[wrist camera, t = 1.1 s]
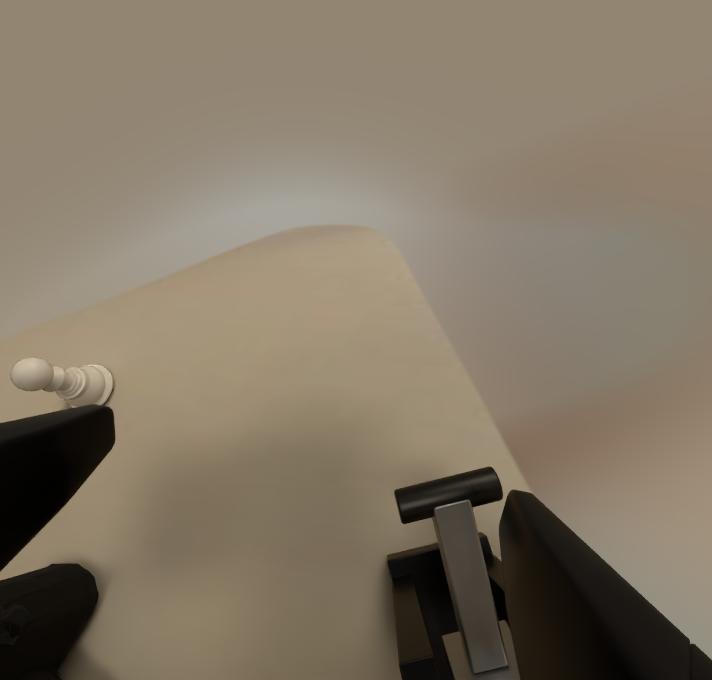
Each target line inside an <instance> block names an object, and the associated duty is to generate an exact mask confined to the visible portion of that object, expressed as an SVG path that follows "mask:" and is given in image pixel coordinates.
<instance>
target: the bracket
mask: <svg viewBox="0 0 712 680" xmlns="http://www.w3.org/2000/svg"><path fill="white" fill-rule="evenodd" d="M478 535H479V539H480V543H481V548H482V552H483V556H484V561H485V565H486V569H487V574H488V578H489V582H490V586H491V591H492V595H493V599H494V604H495V608H496V612H497V617H498V621H503V620H505V621H506V622H507V624H508V626H509V621H508V616H507V610H506V602H505V592H504V581H503V570H502V561H500V560H499V559H498V558H497V557H495V556H494V555H493V554H492V551H491V548H490V545H489V541H488V538H487V536H486V535H484V534H483V533H481V532H479V533H478ZM387 562H388V566H389V571H390V575H391V579H392V590H393V602H394V613H395V625H396V636H397V647H398V659H399V667H400V672H401V676H402V680H451V676H450V672H449V668H448V664H447V660H446V655H445V651H444V647H443V643H442V639H441V637H442V636H443V635H447V634H451V633H455V632H459V629H458V624H457V620H456V616H455V612H454V607H453V603H452V599H451V595H450V591H449V586H448V582H447V578H446V574H445V570H444V565H443V561H442V557H441V553H440V549H439V544H438V543H434V544H430V545H426V546H422V547H418V548H414V549H410V550H406V551H402V552H398V553H394V554H390V555H387ZM509 628H510V626H509Z"/></svg>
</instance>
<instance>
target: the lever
mask: <svg viewBox="0 0 712 680" xmlns="http://www.w3.org/2000/svg"><path fill="white" fill-rule="evenodd" d="M394 494H395V499H396V503H397V507H398V511H399V515H400V519H401V522H402V523H403V524H407V523H411V522H415V521H419V520H423V519H427V518H431V517H432V519H433V523H434V527H435V532H436V536H437V540H438V544H439V549H440V553H441V557H442V561H443V565H444V570H445V574H446V578H447V582H448V586H449V591H450V595H451V599H452V603H453V607H454V612H455V616H456V620H457V624H458V629H459V632H455V633H451V634H447V635H443V636H442V637H441V639H442V643H443V647H444V651H445V655H446V660H447V664H448V668H449V672H450V676H451V680H520V676H519V671H518V666H517V661H516V656H515V651H514V646H513V641H512V636H511V631H510V628H509V626H508V624H507V622H506V621H505V620H503V621H498V617H497V612H496V608H495V604H494V599H493V595H492V591H491V586H490V582H489V578H488V574H487V569H486V565H485V561H484V556H483V552H482V548H481V543H480V539H479V535H478V531H477V526H476V522H475V518H474V513H473V509H472V507H476V506H480V505H484V504H488V503H492V502H496V501H500V500H501V499H502V498H503V491H502V487H501V483H500V480H499V478H498V476H497V474H496V472H495V471H494V469H493V468H492V467H485V468H481V469H477V470H473V471H469V472H465V473H461V474H457V475H453V476H449V477H445V478H441V479H437V480H433V481H429V482H425V483H420V484H416V485H412V486H408V487H404V488H400V489H396V490H395V491H394Z"/></svg>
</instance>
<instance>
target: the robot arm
mask: <svg viewBox="0 0 712 680" xmlns="http://www.w3.org/2000/svg"><path fill="white" fill-rule="evenodd" d="M114 443H115V425H114V413H113V411H112V409H111V408H110V407H107V406H102V405H97V404H90V405H85V406H80V407H76V408H71V409H66V410H61V411H57V412H52V413H47V414H42V415H38V416H33V417H28V418H23V419H19V420H14V421H9V422H4V423H0V571H1V570H2V569H3V568H4V567H5V566H6V565H7V564H8V563H9V562H10V561H11V560H12V559H13V558H14V557H15V556H16V555H17V554H18V553H19V552H20V551H21V550H22V549H23V548H24V547H25V546H26V545H27V544H28V543H29V542H30V541H31V540H32V539H33V538H34V537H35V536H36V535H37V534H38V532H39V531H40V530H41V529H42V528H43V527H44V526H45V525H46V524H47V523H48V522H49V521H50V520H51V519H52V518H53V517H54V516H55V515H56V514H57V513H58V512H59V511H60V510H61V509H62V508H63V507H64V506H65V505H66V503H67V502H68V501H69V500H70V499H71V498H72V496H73V495H74V494H75V493H76V492H77V490H78V489H79V488H80V487H81V486H82V484H83V483H84V482H85V481H86V480H87V478H88V477H89V476H90V475H91V473H92V472H93V471H94V470H95V469H96V467H97V466H98V465H99V464H100V463H101V461H102V460H103V459H104V458H105V456H106V455H107V454H108V453H109V452H110V450H111V449H112V447H113V445H114ZM499 537H500V548H501V559H502V570H503V581H504V592H505V602H506V610H507V616H508V621H509V626H510V631H511V636H512V641H513V646H514V651H515V656H516V661H517V666H518V671H519V676H520V680H712V660H711V659H710V658H709V657H708V656H707V655H706V654H705V653H704V652H702V651H701V650H700V649H699V648H698V647H697V646H696V645H695V644H690V640H689V639H688V638H687V637H686V636H685V635H684V634H683V633H682V632H681V631H680V630H679V629H678V628H676V627H675V626H674V625H673V624H672V623H671V622H670V621H669V620H668V619H667V618H666V617H664V616H663V615H662V614H661V613H660V612H659V611H658V610H657V609H656V608H655V607H654V606H653V605H652V604H650V603H649V602H648V601H647V600H646V599H645V598H644V597H643V596H642V595H641V594H640V593H638V592H637V590H635V589H634V588H633V587H632V586H631V585H630V584H629V583H628V582H627V581H626V580H625V579H624V578H622V577H621V576H620V575H619V574H618V573H617V572H616V571H615V570H614V569H613V568H612V567H611V566H610V565H608V564H607V563H606V562H605V561H604V560H603V559H602V558H601V557H600V556H599V555H598V554H597V553H595V552H594V551H593V550H592V549H591V548H590V547H589V546H588V545H587V544H586V543H585V542H584V541H583V540H581V539H580V538H579V537H578V536H577V535H576V534H575V533H574V532H573V531H572V530H571V529H570V528H569V527H567V526H566V525H565V524H564V523H563V522H562V521H561V520H560V519H559V518H558V517H557V516H556V515H555V514H553V513H552V512H551V511H550V510H549V509H548V508H547V507H546V506H545V505H544V504H543V503H542V502H541V501H539V500H538V499H537V498H536V497H535V496H534V495H533V494H531V493H528V492H523V491H518V490H511V491H510V492H509V494H508V496H507V499H506V503H505V506H504V510H503V513H502V516H501V520H500V525H499Z"/></svg>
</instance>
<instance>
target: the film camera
mask: <svg viewBox="0 0 712 680" xmlns="http://www.w3.org/2000/svg"><path fill="white" fill-rule="evenodd" d="M98 596H99V594H98V590H97V587H96V582H95V578H94V576H93V575H92V574H91V573H90V572H89V571H88V570H86V569H84V568H83V567H81V566H80V565H79V564H51V565H50V566H48V567H46V568H42V569H39V570H35V571H32V572H29V573H25V574H22V575H19V576H15V577H12V578H8V579H5V580H1V581H0V680H61V679H60V677H59V675H58V673H57V671H56V670H57V668H58V666H59V665H60V663H61V661H62V660H63V658H64V656H65V655H66V653H67V651H68V650H69V648H70V647H71V645H72V643H73V642H74V640H75V639H76V637H77V635H78V634H79V632H80V631H81V629H82V627H83V626H84V624H85V623H86V621H87V620H88V618H89V617H90V615H91V614H92V612H93V610H94V608H95V605H96V603H97V600H98Z"/></svg>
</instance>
